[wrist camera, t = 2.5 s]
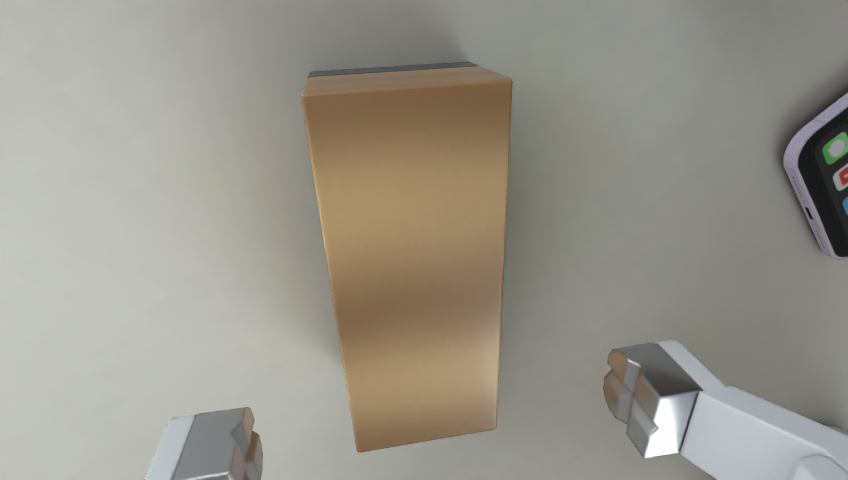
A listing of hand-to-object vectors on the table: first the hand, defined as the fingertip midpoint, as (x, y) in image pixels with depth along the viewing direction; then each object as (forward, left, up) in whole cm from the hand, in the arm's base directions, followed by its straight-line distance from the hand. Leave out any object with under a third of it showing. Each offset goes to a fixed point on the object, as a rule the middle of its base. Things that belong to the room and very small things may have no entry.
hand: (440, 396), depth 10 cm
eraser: (0, 0, -8) cm, 8 cm away
